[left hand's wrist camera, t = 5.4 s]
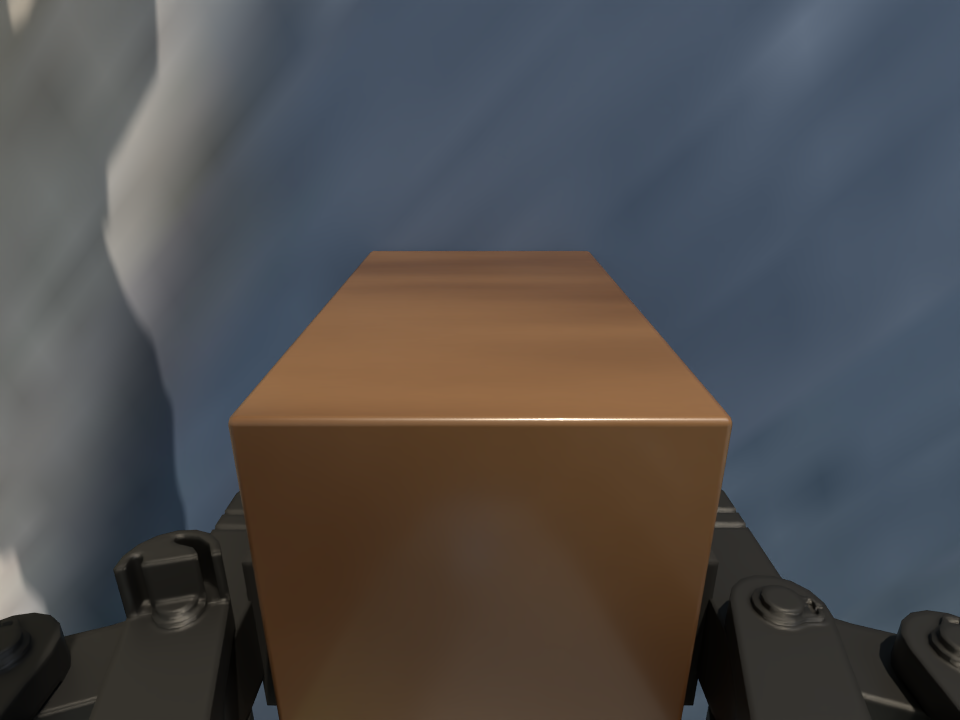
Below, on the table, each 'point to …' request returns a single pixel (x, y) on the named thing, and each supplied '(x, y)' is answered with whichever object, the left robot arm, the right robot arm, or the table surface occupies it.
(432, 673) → the bar
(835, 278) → the table surface
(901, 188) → the table surface
